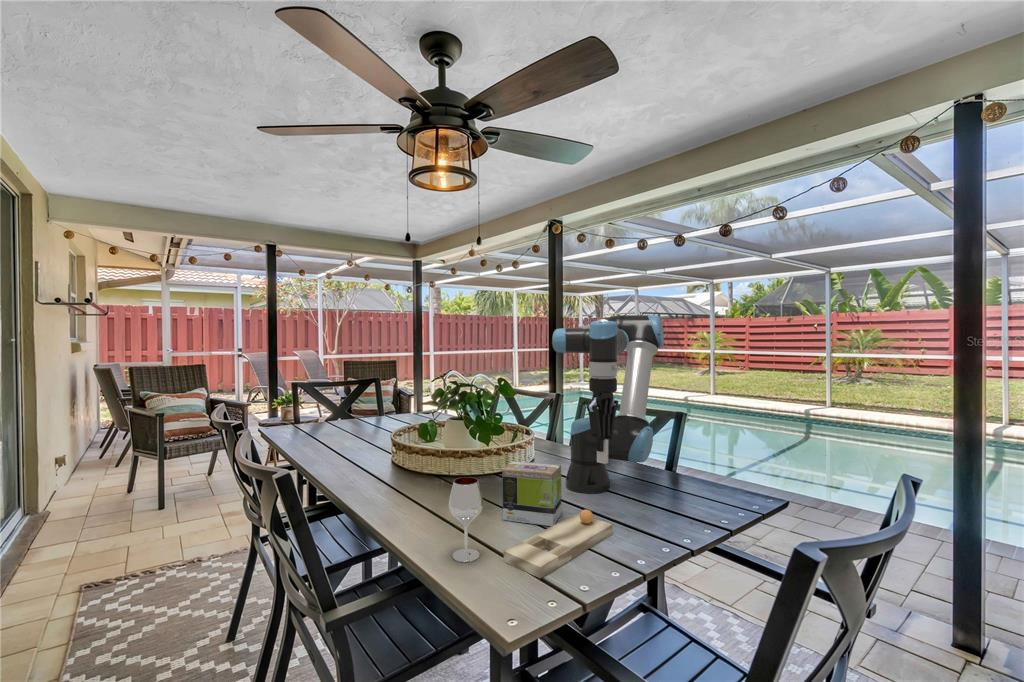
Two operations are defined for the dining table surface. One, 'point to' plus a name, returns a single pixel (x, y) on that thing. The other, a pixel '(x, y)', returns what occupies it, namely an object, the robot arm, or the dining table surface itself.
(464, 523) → the wineglass
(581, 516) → the ball
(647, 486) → the dining table surface
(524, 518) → the tea box
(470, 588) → the dining table surface
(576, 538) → the board
